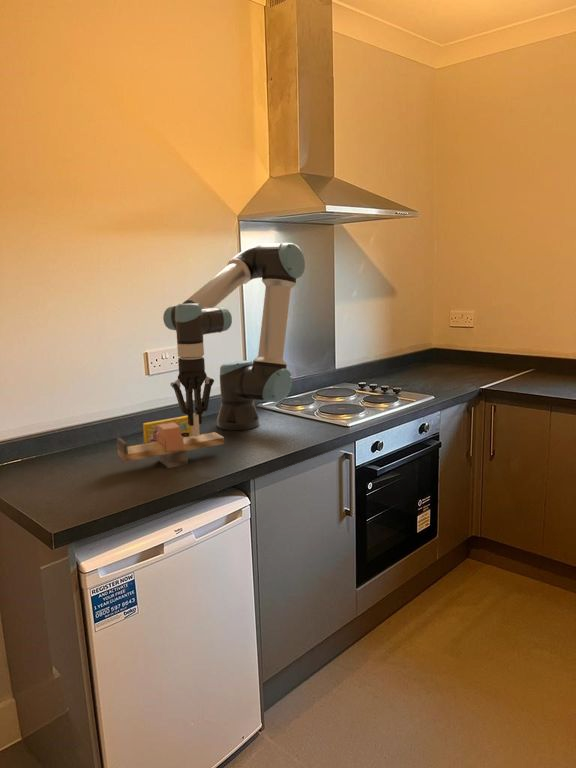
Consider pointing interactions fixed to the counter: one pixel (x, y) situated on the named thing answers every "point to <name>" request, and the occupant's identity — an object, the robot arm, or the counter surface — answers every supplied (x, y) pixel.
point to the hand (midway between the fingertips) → (195, 435)
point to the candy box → (152, 428)
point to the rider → (170, 436)
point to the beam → (169, 457)
